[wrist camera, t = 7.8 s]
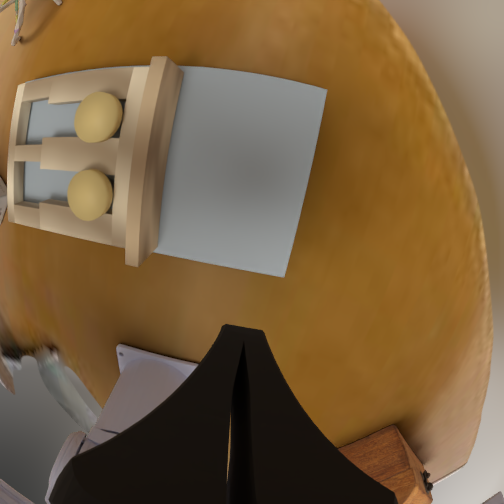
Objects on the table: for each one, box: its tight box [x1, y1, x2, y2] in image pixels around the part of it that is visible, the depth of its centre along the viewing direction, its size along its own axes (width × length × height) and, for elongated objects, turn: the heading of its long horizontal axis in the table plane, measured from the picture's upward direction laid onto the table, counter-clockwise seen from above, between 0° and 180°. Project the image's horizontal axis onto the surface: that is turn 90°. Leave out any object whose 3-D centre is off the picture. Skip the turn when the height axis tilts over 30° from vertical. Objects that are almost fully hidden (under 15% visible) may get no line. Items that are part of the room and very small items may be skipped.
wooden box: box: [338, 425, 433, 504], centre depth 25 cm, size 30×16×14 cm, turn 35°
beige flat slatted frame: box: [7, 56, 184, 267], centre depth 13 cm, size 11×14×3 cm
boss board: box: [23, 65, 327, 277], centre depth 14 cm, size 12×23×4 cm, turn 80°
